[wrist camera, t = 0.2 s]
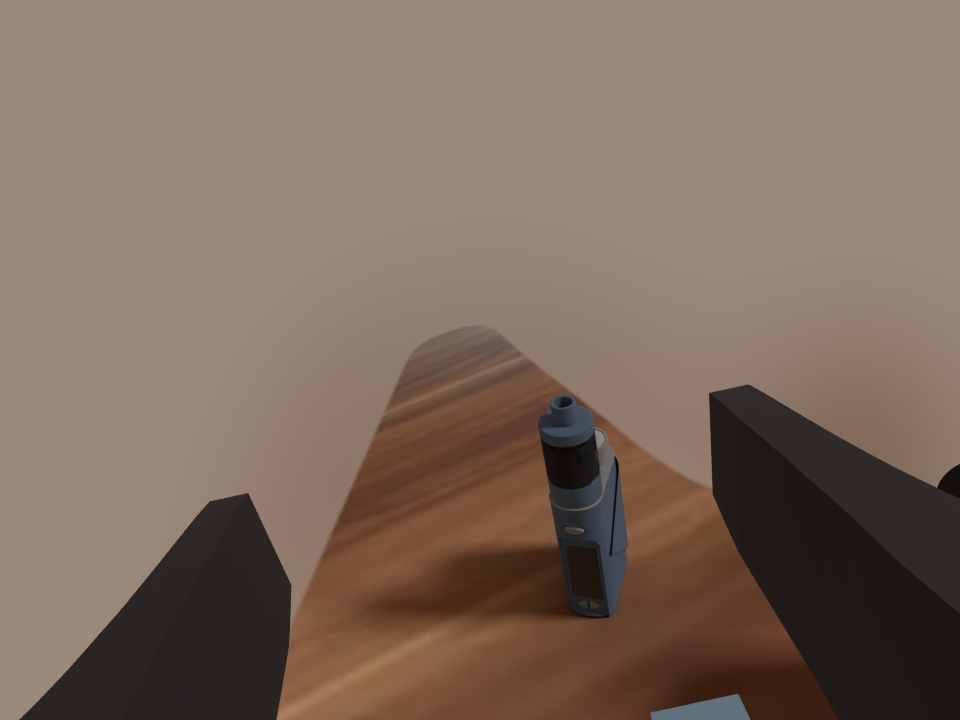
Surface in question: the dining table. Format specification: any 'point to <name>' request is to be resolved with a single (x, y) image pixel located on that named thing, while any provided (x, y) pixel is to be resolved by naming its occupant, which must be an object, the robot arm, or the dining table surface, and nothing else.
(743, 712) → the teal block
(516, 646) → the dining table surface
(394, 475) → the dining table surface
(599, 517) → the vaping device
